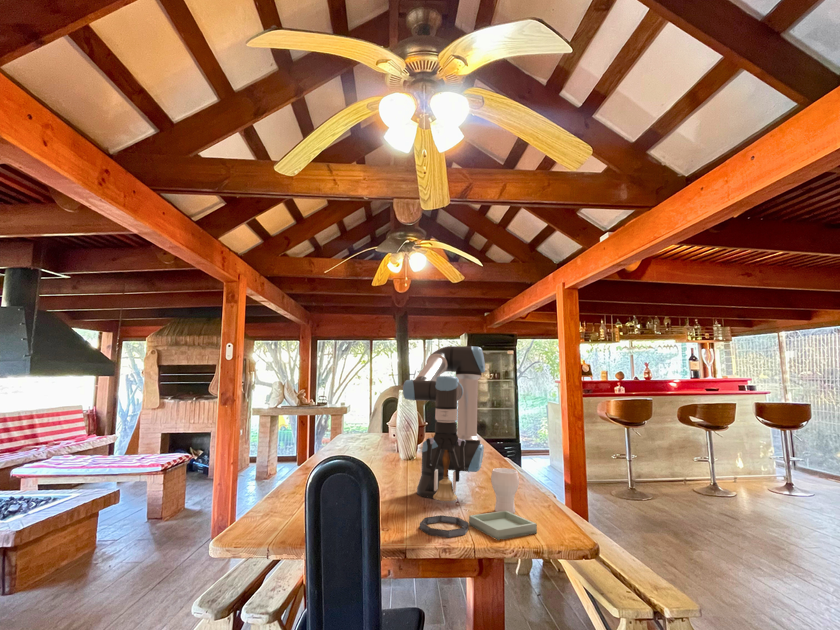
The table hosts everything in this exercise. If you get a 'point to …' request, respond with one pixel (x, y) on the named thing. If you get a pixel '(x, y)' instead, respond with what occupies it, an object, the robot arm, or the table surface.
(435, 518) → the collar
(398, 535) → the table surface
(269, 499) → the table surface
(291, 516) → the table surface
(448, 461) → the hand bell
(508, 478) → the cup
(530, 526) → the green square tray
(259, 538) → the table surface
